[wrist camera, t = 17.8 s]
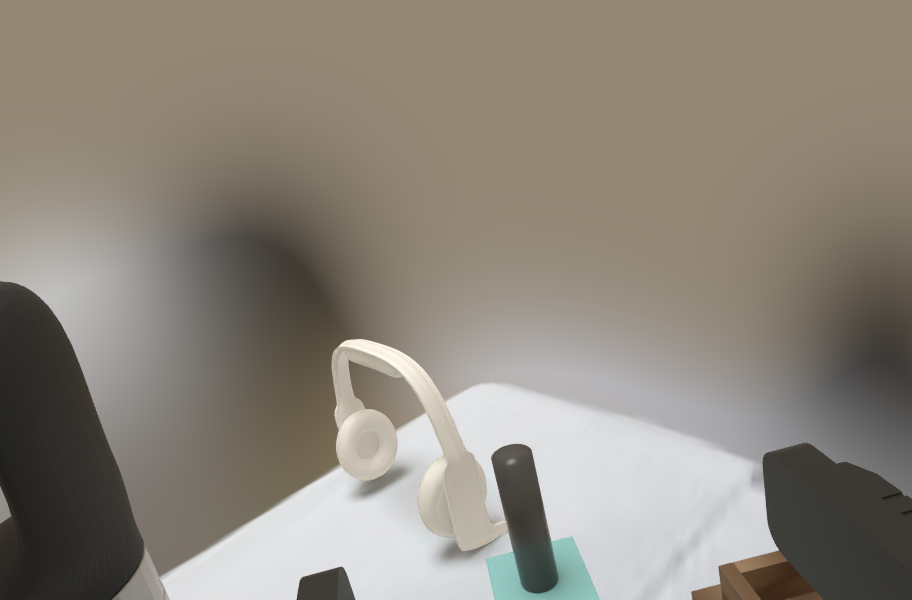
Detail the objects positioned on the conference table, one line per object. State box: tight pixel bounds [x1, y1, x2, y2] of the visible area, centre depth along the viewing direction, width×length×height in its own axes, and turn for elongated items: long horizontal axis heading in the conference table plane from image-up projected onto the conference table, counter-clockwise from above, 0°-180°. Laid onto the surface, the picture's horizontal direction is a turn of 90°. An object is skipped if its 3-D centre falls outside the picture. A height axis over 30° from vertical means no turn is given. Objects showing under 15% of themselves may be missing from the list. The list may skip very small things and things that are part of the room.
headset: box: [332, 339, 508, 551], centre depth 59 cm, size 20×7×18 cm, turn 39°
